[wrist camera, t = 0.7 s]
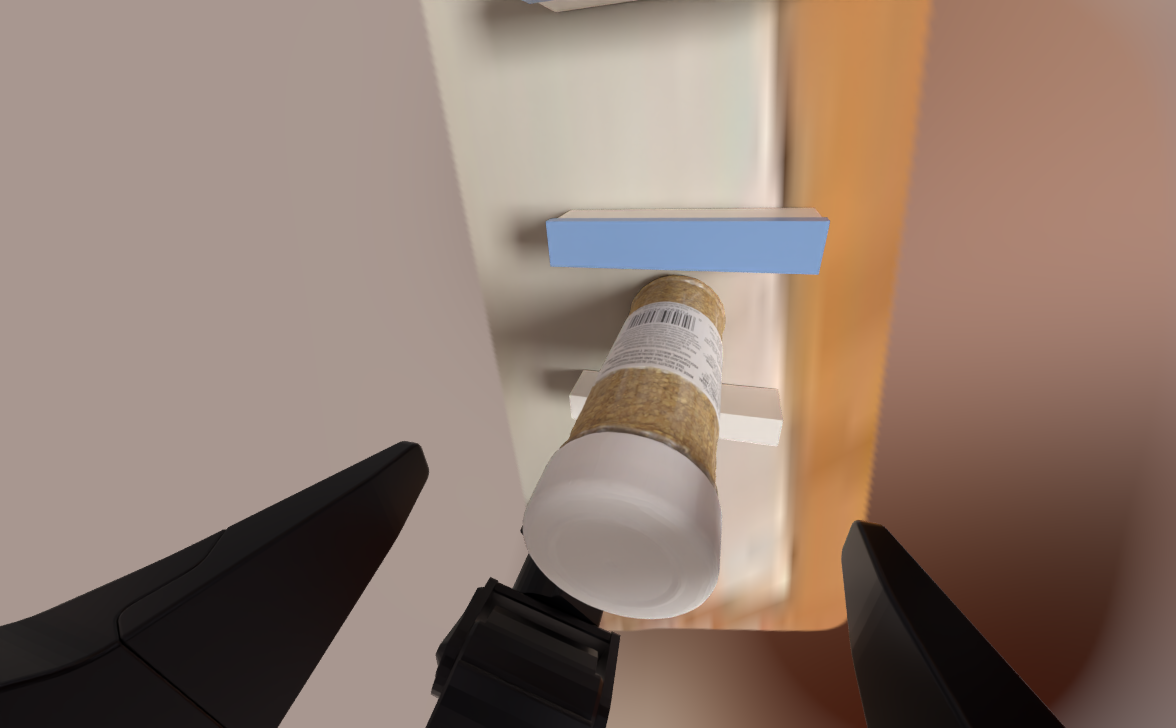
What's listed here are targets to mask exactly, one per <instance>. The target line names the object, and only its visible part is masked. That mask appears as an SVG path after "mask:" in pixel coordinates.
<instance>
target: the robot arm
mask: <svg viewBox="0 0 1176 728" xmlns="http://www.w3.org/2000/svg"><path fill="white" fill-rule="evenodd" d="M428 475H429V467H428V464H427V462H426V459H425V456H424V453H423V450H422V448H421V446H420V445H419V444H418V443H413V442H408V441H402V442H399V443H397V444H395V445H393V446H391V447H389V448H387V449H385V450H383V451H381V452H379V453H377V454H375V455H373V456H371V457H369V458H367V459H365V460H363V461H361V462H359V463H357V464H355V465H353V466H351V467H349V468H347V469H345V470H342V471H341V472H338V473H336V474H335V475H333V476H331V477H329V478H327V479H324V480H322V481H320V482H318V483H317V484H314V485H312V486H310V487H308V488H306V489H304V490H302V491H300V492H298V493H296V494H294V495H292V496H290V497H288V498H286V499H284V500H282V501H280V502H278V503H276V504H274V505H272V506H270V507H268V508H266V509H264V510H262V511H260V512H258V513H256V514H254V515H252V516H250V517H248V518H246V519H244V520H242V521H240V522H238V523H236V524H234V525H232V526H230V527H228V528H227V529H226V530H222V531H220V532H218V533H216V534H214V535H211V536H210V537H208V538H206V539H204V540H201V541H199V542H197V543H195V544H193V545H191V546H189V547H187V548H185V549H183V550H181V551H179V552H177V553H174V554H172V555H170V556H168V557H166V558H164V559H162V560H159V561H157V562H155V563H153V564H151V565H148V566H146V567H144V568H142V569H139V570H137V571H135V572H133V573H131V574H128V575H126V576H124V577H122V578H119V579H117V580H115V581H112V582H110V583H108V584H105V585H103V586H101V587H99V588H96V589H94V590H92V591H90V592H87V593H85V594H83V595H81V596H78V597H76V598H74V599H72V600H69V601H67V602H65V603H62V604H60V605H58V606H56V607H53V608H51V609H49V610H47V611H44V612H42V613H39V614H37V615H34V616H32V617H29V618H26V619H23V620H20V621H17V622H14V623H10V624H6V625H3V626H0V728H278V726H279V724H280V723H281V721H282V720H283V718H284V717H285V715H286V713H287V712H288V710H289V709H290V707H291V705H292V704H293V702H294V701H295V699H296V698H297V696H298V695H299V693H300V691H301V690H302V688H303V687H304V685H305V683H306V682H307V680H308V679H309V677H310V675H311V674H312V672H313V671H314V669H315V668H316V666H317V664H318V663H319V661H320V660H321V658H322V656H323V655H324V653H325V651H326V650H327V649H328V647H329V645H330V644H331V642H332V641H333V639H334V637H335V636H336V634H337V633H338V631H339V629H340V628H341V626H342V625H343V623H344V622H345V620H346V618H347V616H348V615H349V614H350V612H351V611H352V609H353V607H354V606H355V604H356V603H357V601H358V599H359V598H360V596H361V595H362V593H363V591H364V590H365V588H366V587H367V585H368V583H369V582H370V580H371V579H372V577H373V576H374V574H375V572H376V571H377V569H378V568H379V566H380V565H381V563H382V561H383V560H384V558H385V557H386V555H387V553H388V552H389V550H390V549H391V547H392V545H393V543H394V542H395V540H396V539H397V537H398V535H399V533H400V531H401V530H402V528H403V526H404V524H405V522H406V520H407V518H408V516H409V514H410V512H411V510H412V508H413V506H414V504H415V502H416V500H417V498H418V496H419V494H420V492H421V490H422V489H423V486H424V484H425V482H426V480H427V478H428ZM521 533H522V534H523V526H522V528H521ZM841 561H842V571H843V581H844V590H845V600H846V609H847V619H848V627H849V638H850V646H851V652H852V658H853V663H854V668H855V673H856V678H857V682H858V686H859V691H860V696H861V700H862V705H863V709H864V714H865V718H866V723H867V727H868V728H1066V727H1065V726H1064V725H1063V724H1062V723H1061V722H1060V721H1059V720H1058V719H1057V718H1056V716H1055V715H1054V714H1053V713H1052V712H1051V711H1050V710H1049V709H1048V707H1047V706H1046V705H1045V704H1044V703H1043V702H1042V701H1041V700H1040V699H1039V697H1038V696H1037V695H1036V694H1035V693H1034V692H1033V691H1032V690H1031V689H1030V687H1029V686H1028V685H1027V684H1026V683H1025V682H1024V681H1023V680H1022V679H1021V677H1020V676H1019V675H1018V674H1017V673H1016V672H1015V671H1014V670H1013V669H1012V668H1011V666H1010V665H1009V664H1008V663H1007V662H1006V661H1005V660H1004V659H1003V657H1002V656H1001V655H1000V654H999V653H998V652H997V651H996V650H995V649H994V648H993V646H991V644H990V643H989V642H988V641H987V640H986V639H985V638H984V637H983V636H982V634H981V633H980V632H979V631H978V630H977V629H976V628H975V626H974V625H973V624H972V623H971V622H970V621H969V620H968V619H967V618H966V616H965V615H964V614H963V613H962V612H961V611H960V610H959V609H958V608H957V606H956V605H955V604H954V603H953V602H952V601H951V600H950V599H949V598H948V596H947V595H946V594H945V593H944V592H943V591H942V590H941V589H940V588H939V586H938V585H937V584H936V583H935V582H934V581H933V580H932V579H931V578H930V576H929V575H928V574H927V573H926V572H925V571H924V570H923V569H922V568H921V567H920V565H919V564H918V563H917V562H916V561H915V560H914V559H913V558H912V556H911V555H910V554H909V553H908V552H907V551H906V550H905V549H904V548H903V546H902V545H901V544H900V543H899V542H898V541H897V540H896V539H895V538H894V537H893V535H892V534H891V533H890V532H889V531H888V530H887V529H886V528H885V527H884V526H882V525H881V524H878V523H873V522H867V521H861V520H856V521H854V522H853V524H852V525H851V528H850V531H849V533H848V536H847V538H846V541H845V544H844V546H843V549H842V556H841ZM602 614H603V610H600V609H598V608H595V607H592V606H590V605H588V604H585V603H584V602H582V601H580V600H578V599H576V598H574V597H572V596H571V595H569V594H568V593H566V592H565V591H563V590H562V589H560V588H559V587H558V586H557V585H555V584H554V583H553V582H552V581H551V580H550V579H549V578H548V577H547V576H546V575H545V574H544V573H543V572H542V571H541V570H540V569H539V567H538V566H537V565H536V563H535V562H534V560H533V559H532V557H531V556H530V554H528V556H527V558H526V560H525V562H524V565H523V567H522V569H521V571H520V573H519V575H518V578H517V580H516V582H515V584H514V586H513V588H510V587H507V586H505V585H503V584H501V583H498V580H496V579H493V578H491V577H490V578H489V580H488V582H487V583H486V585H485V587H480V588H477V590H476V592H475V594H474V596H473V597H472V599H471V601H470V603H469V605H468V607H467V608H466V610H465V612H464V613H463V615H462V616H461V618H460V619H459V620H458V622H457V623H456V624H455V626H454V627H453V628H452V630H451V631H450V632H449V634H448V635H447V636H446V638H445V639H444V640H443V642H442V643H441V644H440V646H439V648H438V650H437V652H436V660H437V664H438V668H437V671H436V675H435V677H436V678H435V681H434V684H433V687H432V691H431V694H432V695H433V696H435V697H437V698H439V699H438V702H437V704H436V706H435V708H434V710H433V712H432V715H431V717H430V719H429V721H428V724H427V726H426V728H606V724H607V720H608V715H609V711H610V705H611V698H612V691H613V684H614V677H615V670H616V663H617V656H618V648H619V641H620V635H619V634H617V633H615V632H611V633H610V632H608V631H606V630H604V629H602V628H599V626H600V622H601V618H602Z"/></svg>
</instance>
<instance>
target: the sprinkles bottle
mask: <svg viewBox="0 0 1176 728" xmlns="http://www.w3.org/2000/svg"><path fill="white" fill-rule="evenodd" d="M724 328H725V312H724V307H723V304H722V302H721V301H720V299H719V297H718V296H717V294H716V293H715V292H714V291H713V290H712V289H711V288H710V287H709V286H707V285H706V284H705V283H703V282H701V281H700V280H698V279H695V278H691V277H688V276H677V275H672V276H666V277H662V278H658V279H656V280H654V281H652V282H651V283H649V284H648V285H646V286H645V287H643V288H642V289H641V290H640V292H639V293H638V294H637V295H636V297H635V298H634V300H633V302H632V304H631V308H630V313H629V316H628V318H627V319H626V321H625V323H624V325H623V327H622V329H621V331H620V333H619V334H618V336H617V338H616V340H615V342H614V344H613V346H612V348H611V350H610V352H609V354H608V355H607V358H606V360H605V362H604V364H603V366H602V368H601V370H600V371H599V373H598V375H597V377H596V379H595V382H594V384H593V386H592V388H591V391H590V393H589V395H588V397H587V399H586V401H585V404H584V406H583V408H582V411H581V412H580V414H579V416H578V418H577V420H576V423H575V425H574V427H573V429H572V431H571V434H570V437H569V439H568V440H567V441H566V442H565V443H564V444H563V445H562V446H561V447H560V449H559V450H558V451H556V452H555V453H554V455H553V456H552V457H551V459H550V460H549V462H548V464H547V466H546V468H545V470H544V472H543V474H542V475H541V477H540V479H539V481H538V484H537V486H536V488H535V490H534V492H533V494H532V496H531V498H530V501H529V503H528V505H527V508H526V510H525V514H524V519H523V536H524V541H525V544H526V546H527V549H528V552H529V554H530V556H531V557H532V559H533V560H534V562H535V563H536V565H537V566H538V567H539V569H540V570H541V571H542V572H543V573H544V574H545V575H546V576H547V577H548V578H549V579H550V580H551V581H552V582H553V583H554V584H555V585H557V586H558V587H559V588H560V589H562V590H563V591H565V592H566V593H568V594H569V595H571V596H572V597H574V598H576V599H578V600H580V601H582V602H584V603H585V604H588V605H590V606H592V607H595V608H598V609H600V610H603V611H606V612H609V613H612V614H616V615H620V616H624V617H631V618H639V619H663V618H671V617H675V616H678V615H682V614H685V613H687V612H689V611H691V610H693V609H695V608H697V607H698V606H700V605H701V604H702V603H704V602H705V600H706V599H707V598H708V597H709V596H710V595H711V593H712V592H713V590H714V588H715V586H716V583H717V580H718V575H719V569H720V553H721V534H722V512H721V506H720V502H719V498H718V491H717V487H716V484H715V479H716V474H715V470H716V450H717V442H718V439H719V432H720V407H721V382H722V363H723V347H722V333H723V331H724Z"/></svg>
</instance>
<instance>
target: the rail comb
mask: <svg viewBox="0 0 1176 728" xmlns="http://www.w3.org/2000/svg"><path fill="white" fill-rule="evenodd" d="M523 1H525V2H527V3H528V4H532V3H539V4H541V5H543V6H545V7H547V8H548V9H550V10H552V11H554V12H562V11H569V10H575V9H582V8H589V7H596V6H602V5H609V4H616V3H623V2H630V1H636V0H523ZM829 224H830V220H829V219H828V218H827V217H822V216H821V215H820V214H819V213H818V212H817V210H816V209H815V208H719V209H611V210H570V211H568V212H567V213H565V214H564V215H562V216H560V217H559V218H551V219H549V220H547V221H546V229H547V238H548V247H549V256H550V265H551V266H553V267H586V268H619V269H652V270H685V271H718V272H752V273H785V274H819V270H820V265H821V260H822V256H823V251H824V247H825V242H826V238H827V233H828V229H829ZM598 373H599V371H589V370H583V372H582V374H581V375H580V377H579V379H578V381H577V382H576V384H575V386H574V388H573V389H572V391H571V393H570V395H569V398H570V408H571V418H572V419H577V418H578V416H579V414H580V412H581V411H582V408H583V406H584V404H585V401H586V399H587V397H588V395H589V393H590V391H591V388H592V386H593V384H594V382H595V379H596V377H597V375H598ZM782 424H783V416H782V410H781V403H780V397H779V391H778V389H768V388H758V387H748V386H738V385H728V384H721V407H720V432H719V439H726V440H733V441H740V442H748V443H755V444H763V445H770V446H777V447H778V442H779V438H780V433H781V428H782Z"/></svg>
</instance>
